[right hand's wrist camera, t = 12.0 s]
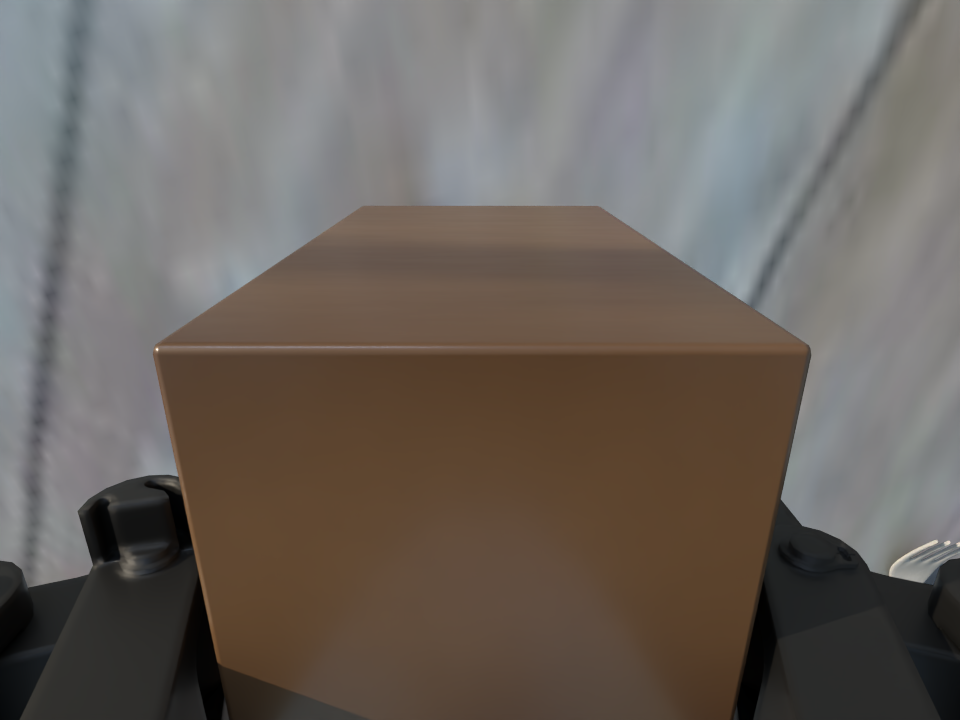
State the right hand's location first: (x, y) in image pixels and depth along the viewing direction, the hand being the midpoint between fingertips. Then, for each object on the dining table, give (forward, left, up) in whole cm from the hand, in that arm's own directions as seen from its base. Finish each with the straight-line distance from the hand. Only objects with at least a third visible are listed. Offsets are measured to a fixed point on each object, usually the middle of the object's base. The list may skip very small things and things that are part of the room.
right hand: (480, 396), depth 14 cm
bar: (+1, +10, -1) cm, 10 cm away
